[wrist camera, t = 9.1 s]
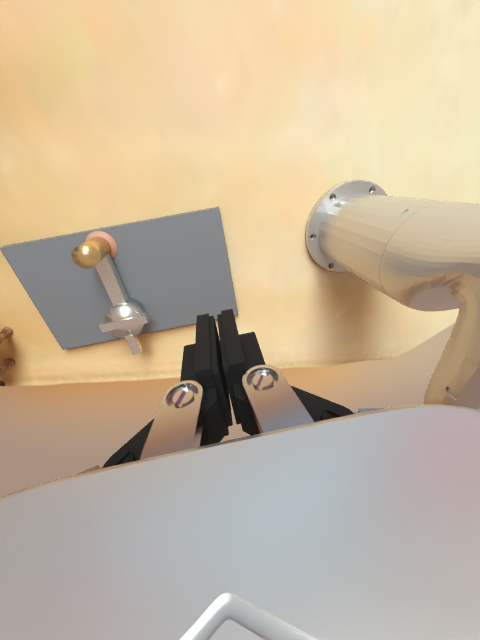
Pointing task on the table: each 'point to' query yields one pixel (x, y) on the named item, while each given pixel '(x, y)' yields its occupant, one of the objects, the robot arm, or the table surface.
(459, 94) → the table surface
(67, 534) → the robot arm
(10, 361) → the lion figurine
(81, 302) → the base plate
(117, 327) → the crank handle
